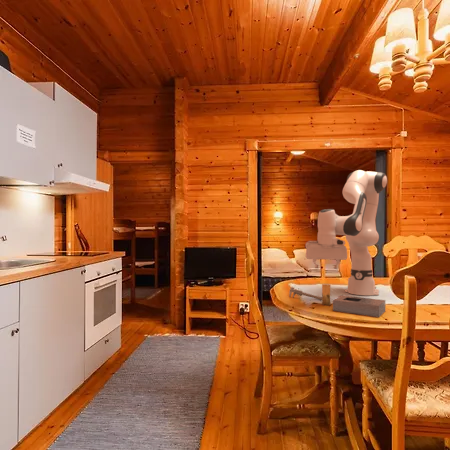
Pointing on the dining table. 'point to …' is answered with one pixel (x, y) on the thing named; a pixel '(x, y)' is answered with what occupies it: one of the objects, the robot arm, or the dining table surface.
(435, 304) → the dining table surface
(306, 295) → the caliper
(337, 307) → the block
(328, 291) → the block
